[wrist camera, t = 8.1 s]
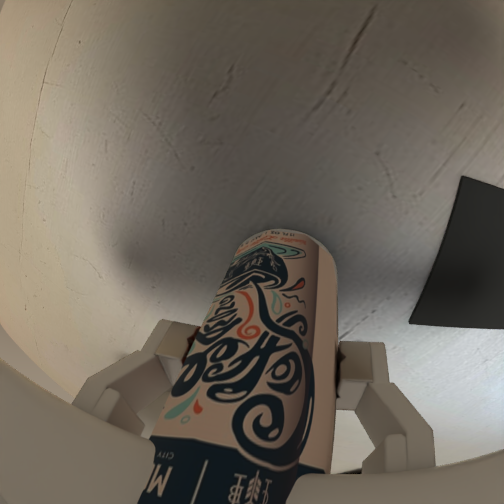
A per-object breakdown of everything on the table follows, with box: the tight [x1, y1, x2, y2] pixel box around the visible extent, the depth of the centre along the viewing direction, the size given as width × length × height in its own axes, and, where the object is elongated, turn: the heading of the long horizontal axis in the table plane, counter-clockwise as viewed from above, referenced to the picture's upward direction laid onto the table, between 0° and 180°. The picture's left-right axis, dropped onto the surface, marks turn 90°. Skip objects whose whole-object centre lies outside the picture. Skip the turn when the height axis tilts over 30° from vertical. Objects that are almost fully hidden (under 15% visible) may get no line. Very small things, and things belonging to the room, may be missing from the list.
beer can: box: [137, 229, 338, 504], centre depth 8 cm, size 5×5×12 cm
